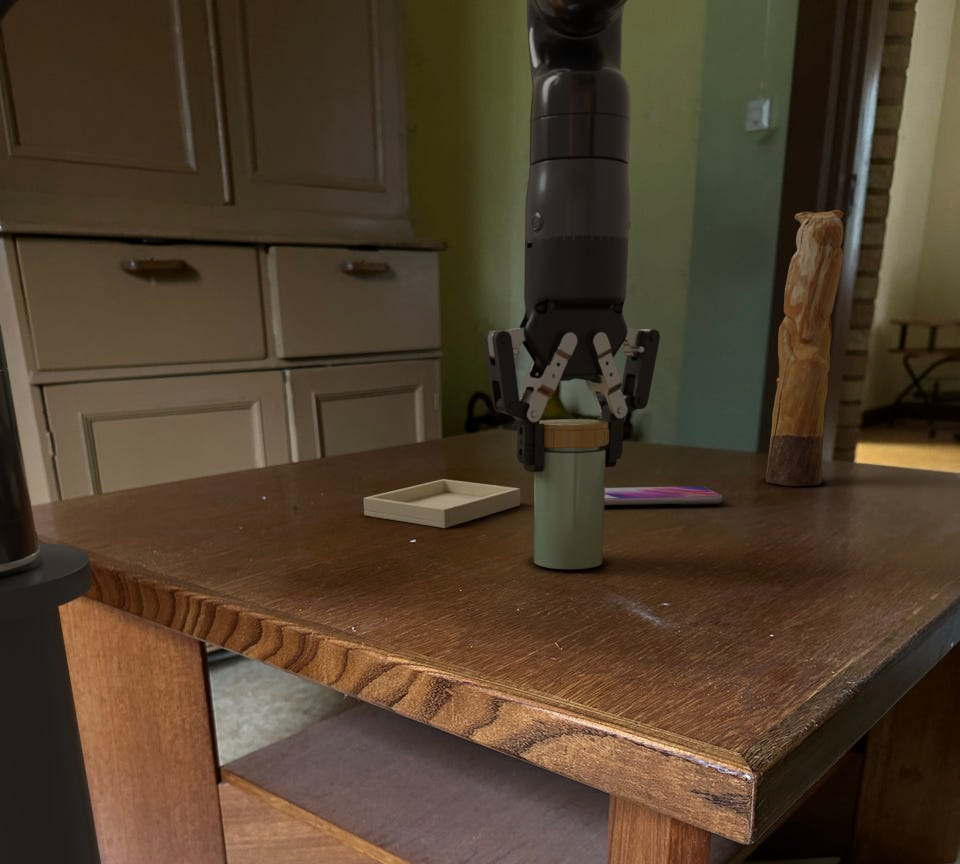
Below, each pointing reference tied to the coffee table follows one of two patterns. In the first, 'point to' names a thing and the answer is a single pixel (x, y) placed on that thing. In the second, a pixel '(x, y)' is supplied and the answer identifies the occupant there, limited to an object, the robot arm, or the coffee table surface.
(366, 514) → the tray
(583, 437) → the jar lid
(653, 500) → the smartphone
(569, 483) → the jar
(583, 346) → the robot arm
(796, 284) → the sculpture
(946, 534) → the coffee table surface
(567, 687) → the coffee table surface
